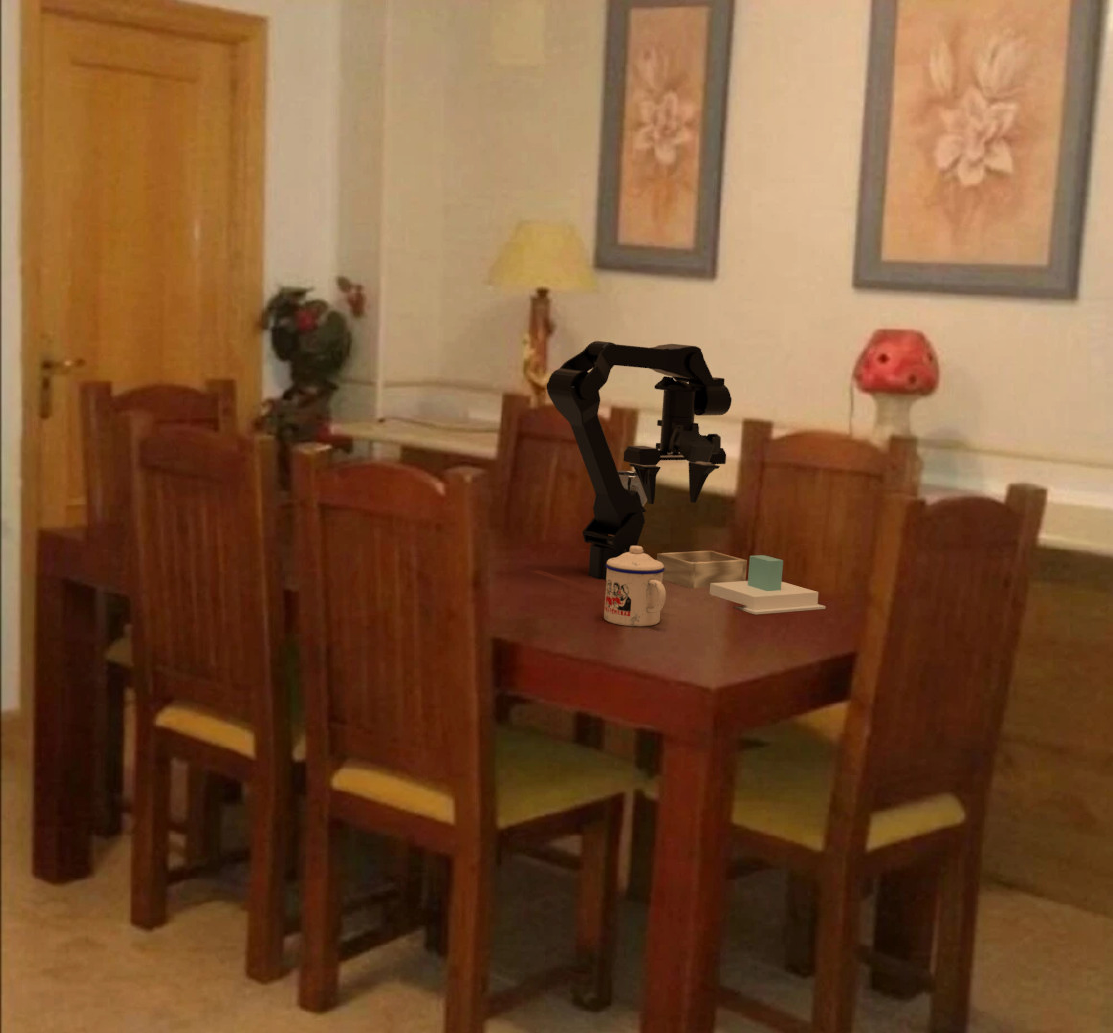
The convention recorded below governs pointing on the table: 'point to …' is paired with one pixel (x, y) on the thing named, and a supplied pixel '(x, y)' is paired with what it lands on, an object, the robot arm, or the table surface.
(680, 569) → the box
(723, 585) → the lid
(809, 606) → the mat
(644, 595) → the teacup with lid
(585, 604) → the table surface
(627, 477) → the wine glass
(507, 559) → the table surface
